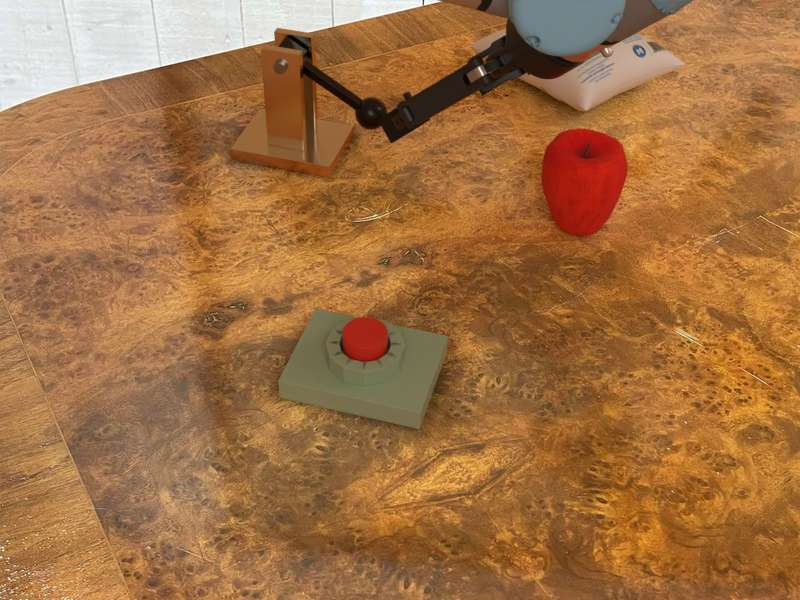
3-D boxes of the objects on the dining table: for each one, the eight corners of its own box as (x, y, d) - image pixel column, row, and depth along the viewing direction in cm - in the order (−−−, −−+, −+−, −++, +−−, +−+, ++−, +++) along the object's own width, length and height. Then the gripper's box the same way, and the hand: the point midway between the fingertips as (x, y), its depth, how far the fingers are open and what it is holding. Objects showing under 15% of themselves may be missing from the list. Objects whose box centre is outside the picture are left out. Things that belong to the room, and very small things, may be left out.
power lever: (381, 124, 122) (397, 103, 119) (372, 141, 119) (387, 120, 117) (276, 52, 119) (290, 29, 117) (265, 67, 117) (279, 44, 114)
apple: (518, 214, 116) (528, 130, 109) (583, 192, 120) (596, 109, 112) (566, 260, 111) (580, 174, 103) (632, 236, 114) (650, 151, 107)
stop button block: (279, 397, 95) (276, 366, 93) (316, 324, 103) (314, 293, 100) (419, 429, 93) (421, 398, 90) (447, 352, 100) (449, 321, 97)
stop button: (336, 356, 94) (336, 342, 93) (350, 327, 97) (350, 313, 96) (380, 366, 93) (380, 352, 92) (392, 336, 96) (393, 322, 95)
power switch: (354, 135, 127) (353, 30, 118) (330, 177, 121) (326, 69, 112) (260, 119, 130) (251, 14, 120) (231, 159, 123) (220, 51, 114)
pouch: (693, 34, 132) (572, -27, 142) (590, 88, 122) (469, 19, 133) (680, 89, 137) (565, 26, 148) (580, 145, 128) (465, 74, 138)
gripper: (488, 114, 87) (363, 185, 105) (666, 18, 100) (529, 96, 118) (445, 31, 86) (326, 117, 104) (630, -55, 99) (497, 35, 117)
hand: (433, 106), depth 111 cm, fingers open, 13 cm apart
